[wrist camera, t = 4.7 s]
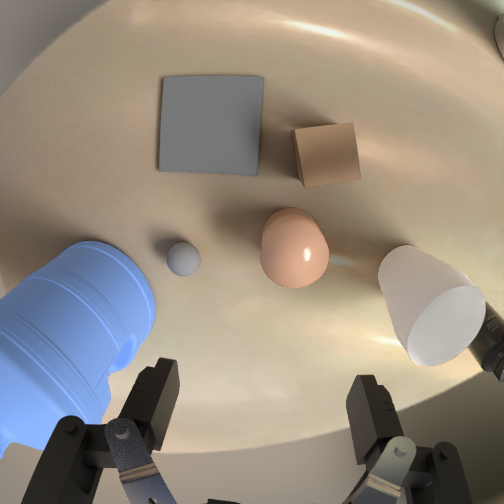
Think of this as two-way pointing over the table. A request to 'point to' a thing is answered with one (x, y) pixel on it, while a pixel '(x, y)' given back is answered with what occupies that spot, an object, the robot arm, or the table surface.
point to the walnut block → (326, 154)
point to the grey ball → (183, 259)
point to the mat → (211, 124)
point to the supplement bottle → (490, 344)
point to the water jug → (68, 339)
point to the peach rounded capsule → (293, 248)
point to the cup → (430, 305)
